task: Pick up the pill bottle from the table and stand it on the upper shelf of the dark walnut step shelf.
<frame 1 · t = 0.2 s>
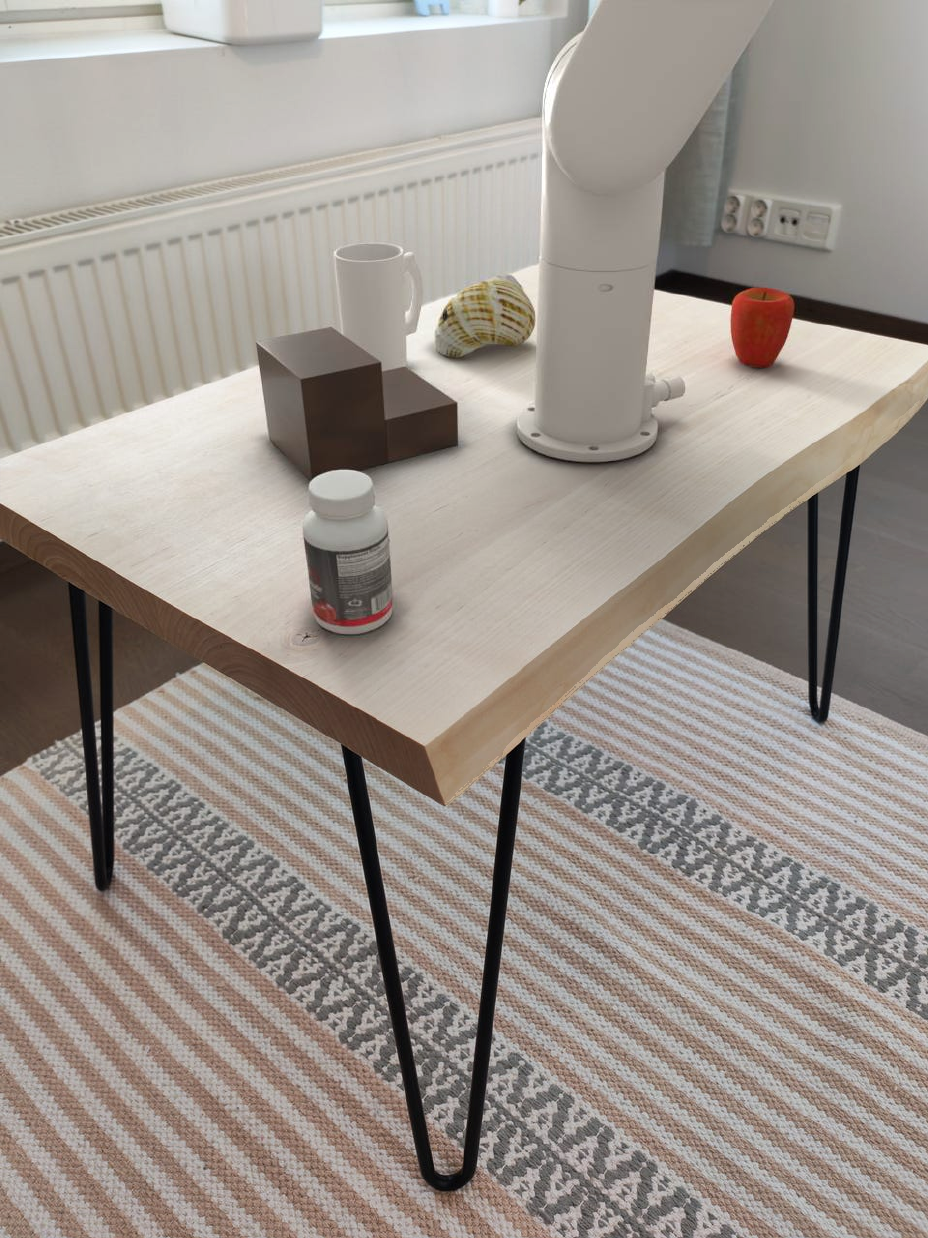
apple: (753, 364, 102), on the table
pill bottle: (353, 616, 66), on the table
seashell: (486, 347, 107), on the table
step shelf: (363, 441, 88), on the table
mug: (388, 368, 102), on the table
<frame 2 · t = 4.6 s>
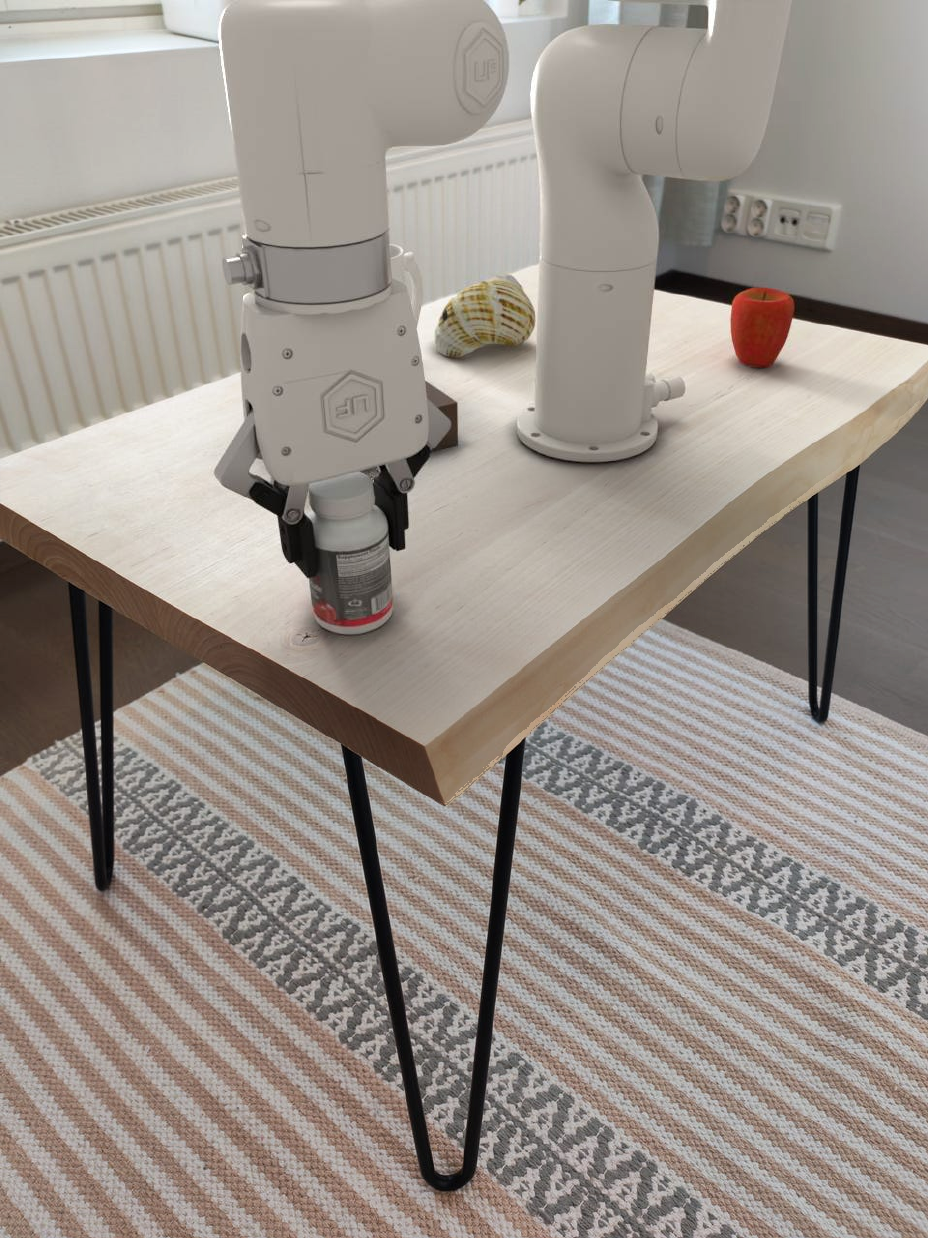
hand: (347, 551, 63), 5 cm above the table, tool pointing down, fingers closed on pill bottle, 5 cm apart
pill bottle: (353, 616, 66), on the table, touching gripper
everything else where it was.
when the fingers open (14 cm above the table, at t = 10.4 s): pill bottle stays where it is, resting on step shelf.
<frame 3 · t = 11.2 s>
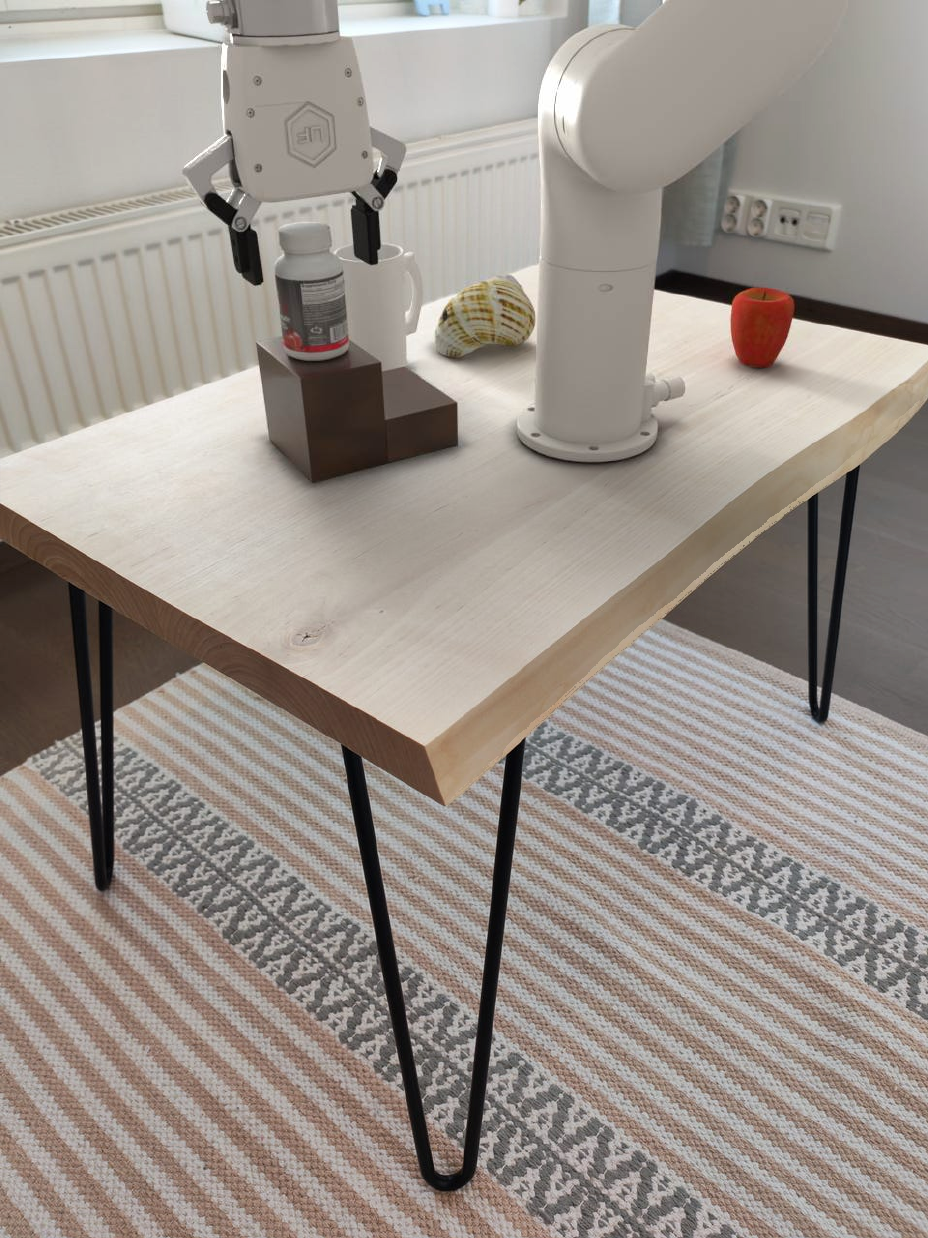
hand: (310, 270, 77), 16 cm above the table, tool pointing down, fingers open, 9 cm apart
pill bottle: (317, 353, 81), point 9 cm above the table, touching step shelf
everything else where it was.
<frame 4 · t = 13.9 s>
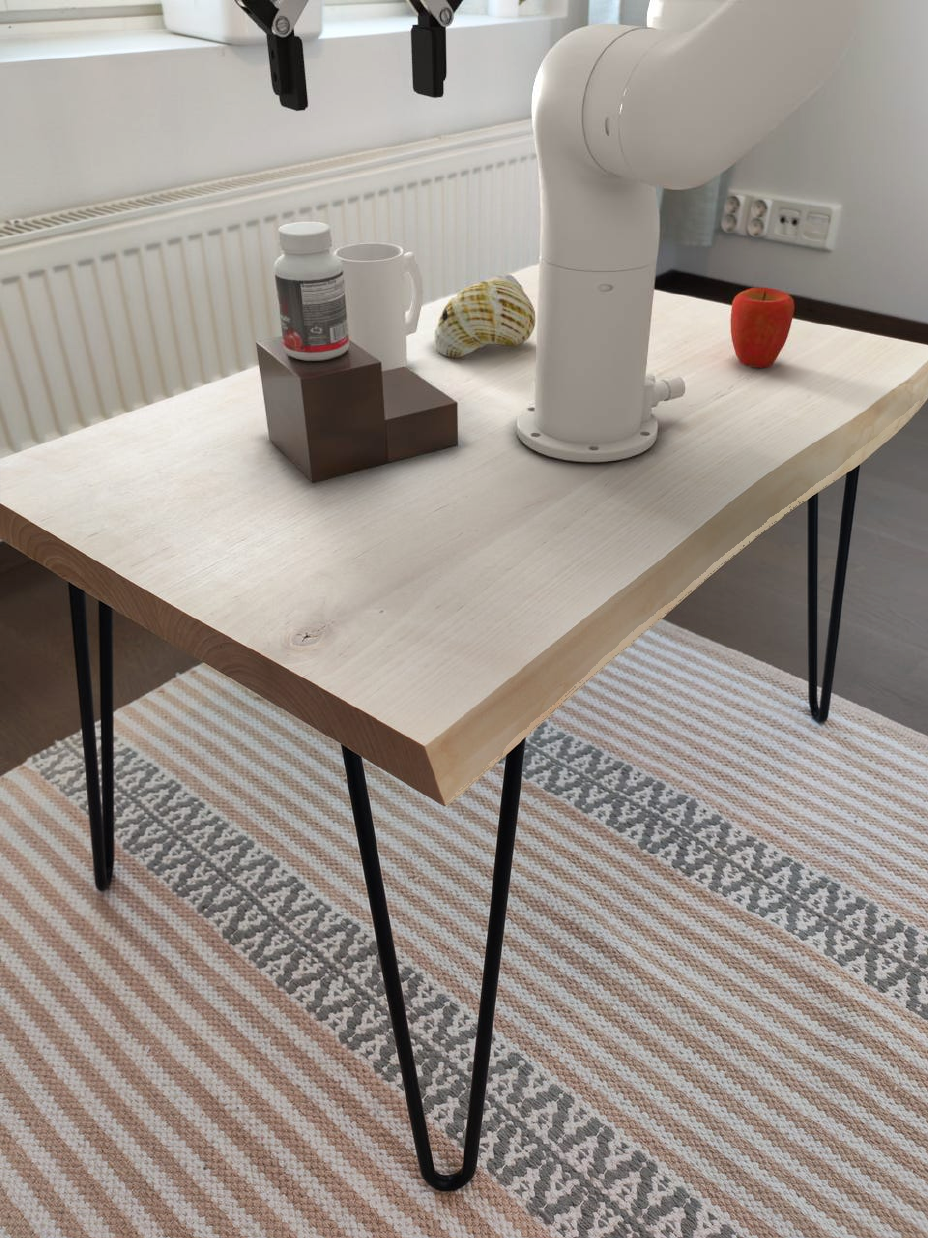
hand: (363, 101, 64), 28 cm above the table, tool pointing down, fingers open, 9 cm apart
nothing on the table moved.
at the end: pill bottle inside the target area on the step shelf (0.0 cm from its centre), point 8.8 cm above the step shelf's base; pill bottle tilted 0°; the gripper is holding nothing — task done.
